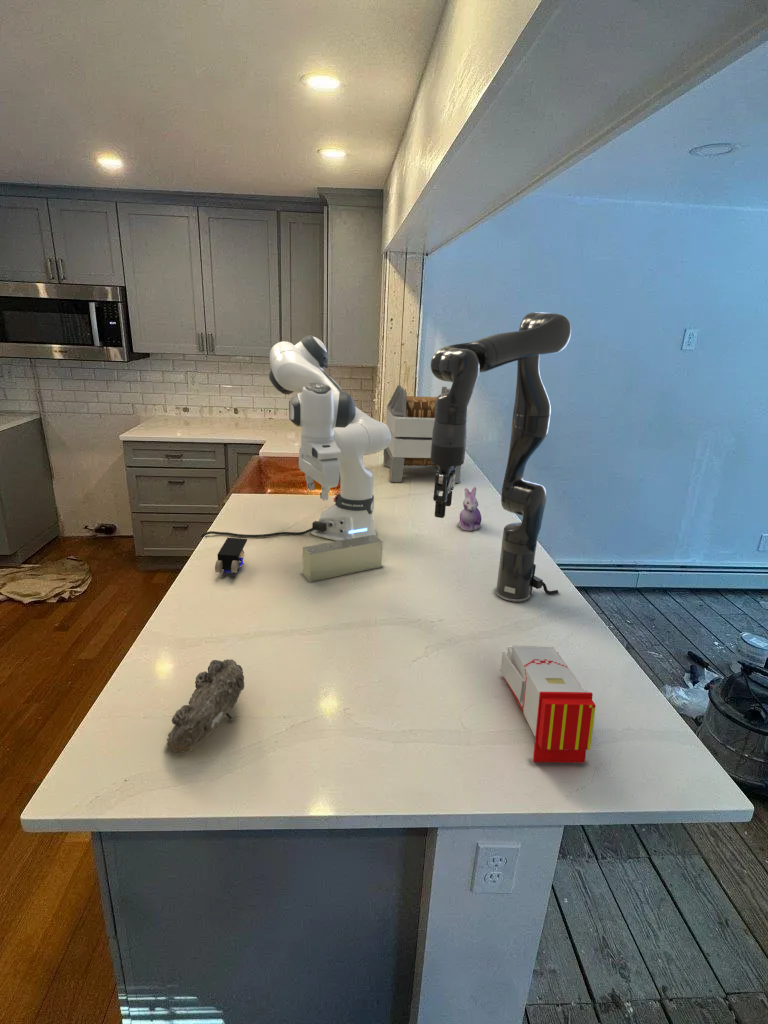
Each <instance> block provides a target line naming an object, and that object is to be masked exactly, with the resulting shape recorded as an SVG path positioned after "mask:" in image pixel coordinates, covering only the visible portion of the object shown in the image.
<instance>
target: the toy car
mask: <svg viewBox="0 0 768 1024" xmlns="http://www.w3.org/2000/svg"><path fill="white" fill-rule="evenodd" d="M247 542H248V538H242V537H226V539H225V541H224V543H223V544H222V546H221V547H220V549H219V551H218V552H217V560H216V562H215V564H214V572H215V573H221V577H222V578H224V577H225V576H226V574H227V573H230V574H231V573H232V574H231V578H234V577H235V575H236V573H237V572H239V571H240V567H242V566H243V565H244V564H245V562H244V558H245V551H244V547H245V546H246V544H247Z"/></svg>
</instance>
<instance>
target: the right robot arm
mask: <svg viewBox="0 0 768 1024" xmlns="http://www.w3.org/2000/svg"><path fill="white" fill-rule="evenodd" d="M571 335H572V326H571V322H570V319H569V318H567V316H565V315H563V314H561V313H556V312H538V311H537V312H535V311H534V312H529V313H527V314H525V315H524V317H523V318H522V320H521V322H520V325H519V328H518V330H516V331H510V332H500V333H496V334H492V335H490V336H485V337H482V338H480V339H477V340H475V341H471V342H461V343H455V344H450V345H446V346H443V347H441V348H439V349H438V350H437V351H436V352H435V353H434V354H433V356H432V358H431V360H430V370H431V373H432V375H433V376H434V377H435V378H436V379H437V380H440V381H442V382H449V383H452V384H451V387H450V388H449V389H450V392H449V393H443V394H441V393H440V394H438V396H436V397H437V399H436V407H435V421H434V426H433V432H432V445H431V462H432V463H434V464H437V465H439V466H440V468H439V469H437V471H436V472H435V475H434V486H433V487H434V489H433V497H432V499H433V501H435V505H434V517H435V518H440V519H444V518H445V517H446V507H451V505H452V500H453V491H454V489H455V485H456V484H457V483H456V482H455V481H456V480H455V477H456V466H460V465H461V466H463V465H464V463H465V460H466V459H465V457H466V447H467V436H468V429H467V426H468V425H467V423H468V414H469V413H468V412H469V403H470V401H471V398H472V396H473V394H474V390H475V387H476V384H477V382H478V378H479V376H480V373H486V372H489V371H492V370H494V369H497V368H499V367H502V366H505V365H508V364H510V363H513V362H516V361H517V368H516V369H517V370H516V371H517V372H516V383H515V385H516V386H515V396H514V404H513V411H512V419H511V429H510V430H511V431H510V442H509V448H508V449H509V450H508V457H507V462H506V468H505V473H504V478H503V481H502V487H501V493H500V505H501V506H502V509H503V510H505V511H507V512H509V513H513V514H516V515H518V516H522V519H521V522H512V523H508V524H506V525H505V526H504V528H503V531H502V539H501V547H500V555H499V556H500V557H499V565H498V572H497V578H496V579H497V580H496V587H495V594H496V596H498V597H499V598H500V599H502V600H505V601H509V602H513V603H521V602H526V601H527V600H529V599H530V596H532V594H533V588H534V589H535V590H538V589H542V588H543V591H544V593H545V594H547V595H555V594H559V590H558V589H553V590H548V587H547V584H546V583H545V582H544V581H543V579H541V578H540V577H538V576H536V575H535V574H536V567H537V565H536V564H535V559H536V550H537V544H538V538H539V535H540V531H541V529H542V522H543V517H544V513H545V508H546V503H547V490H546V488H545V486H543V485H542V484H539V483H537V482H533V481H532V482H531V481H528V480H524V476H525V475H524V473H525V469H526V466H527V463H528V461H529V459H530V458H531V457H532V455H533V454H535V452H536V451H537V450H538V448H540V446H541V445H542V443H543V442H544V441H545V439H546V438H547V435H548V433H549V428H550V421H551V413H552V407H551V402H550V398H549V396H548V393H547V390H546V388H545V386H544V383H543V381H542V378H541V373H540V372H541V371H540V356H541V355H547V354H557V353H560V352H562V351H563V350H564V349H565V348H566V347H567V345H568V344H569V342H570V339H571ZM440 493H441V494H442V495H440Z"/></svg>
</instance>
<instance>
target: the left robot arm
mask: <svg viewBox="0 0 768 1024" xmlns="http://www.w3.org/2000/svg"><path fill="white" fill-rule="evenodd" d="M328 363H329V352H328V349H327V347H326V345H325V344H324V342H323V341H322V340H321V339H319V338H318V337H316V336H314V335H311V334H308V335H305V336H304V337H302V338H301V339H300V341H299V342H297V343H296V344H295V345H294V344H293V343H292V342H290V341H285V340H284V341H279V342H277V343H275V344H274V345H273V346H272V347H271V348H270V351H269V364H270V371H269V374H268V379H269V381H270V383H271V385H272V386H273V388H274V389H275V390H276V391H278V392H280V393H281V394H283V395H290V394H292V393H294V392H297V393H295V394H294V395H292V397H291V398H290V400H289V401H288V414H289V415H288V418H289V421H290V422H291V423H292V424H293V425H295V426H296V427H299V428H301V432H300V447H299V450H298V469H299V471H301V473H304V478H305V481H306V489H307V490H309V491H314V490H315V489H316V488H315V486H316V483H318V484H319V485H320V486H321V487H320V488H321V492H319V498H320V500H322V501H327V500H329V494H330V491H331V489H332V488H337V487H338V485H340V488H339V489H340V490H339V491H338V492H337V494H336V495H335V496H334V497H333V502H334V504H333V505H331V506H329V507H328V508H326V509H325V510H323V512H321V514H320V515H319V517H318V520H314V521H313V522H311V523H312V526H311V528H309V529H307V530H304V531H297V532H296V531H278V532H271V533H266V534H265V533H264V534H245V533H244V534H243V533H236V532H235V533H233V532H227V531H226V532H225V531H213V530H209V531H206V532H204V533H203V534H202V535H200V538H204V537H206V536H207V535H220V536H221V535H223V536H233V537H237V538H267V537H273V536H274V537H275V536H280V535H289V536H290V535H291V536H292V535H293V536H301V535H305V534H308V533H311V536H315V537H319V538H323V539H326V540H330V541H334V542H336V541H341V540H347V539H353V538H359V537H365V536H370V535H375V536H376V535H377V532H376V528H375V523H374V513H373V512H374V509H375V496H374V474H373V472H372V471H371V469H369V468H368V467H366V466H365V465H364V462H363V457H364V456H370V455H374V454H377V453H381V452H382V451H384V449H386V448H387V447H388V446H389V445H390V442H391V432H390V430H389V428H388V426H387V423H386V422H385V423H384V422H383V421H379V420H377V419H375V418H373V417H371V416H370V415H368V414H367V413H365V412H364V411H362V410H361V409H360V408H358V407H357V406H356V404H355V401H354V398H353V397H352V396H351V395H350V394H349V392H347V391H345V390H343V389H342V388H341V387H340V384H338V383H337V382H336V381H335V379H333V378H332V377H331V376H330V375H329V374H328V373H327V372H325V370H324V368H325V369H328V368H329V365H328ZM315 482H316V483H315ZM339 482H340V484H339Z"/></svg>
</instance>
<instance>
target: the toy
mask: <svg viewBox="0 0 768 1024" xmlns="http://www.w3.org/2000/svg"><path fill="white" fill-rule="evenodd" d="M506 650H507V651H502V652H501V659H500V666H499V671H500V673H501V675H502V677H503V679H504V681H505V683H506V684H507V687H508V688H509V690H510V692H511V693H512V696H513V697H514V699H515V700H516V703H517V704H518V706H519V708H520V709H521V711H522V712H523V716H524V717H525V719H526V722H527V723H528V726H529V728H530V730H531V731H532V734H533V736H534V744H533V745H534V746H533V757H532V762H533V763H568V764H569V763H575V764H576V763H577V764H578V763H579V764H582V763H583V764H585V762H586V754H587V751H591V747H592V746H591V745H592V738H593V729H594V722H595V713H596V707H597V706H596V703H595V702H594V700H593V696H594V695H593V692H590V691H589V692H587V691H586V690H585V688H584V687H583V686H582V684H581V683H580V681H579V680H578V679H577V677H576V676H575V675H574V673H573V672H572V671H571V669H570V668H569V667H568V665H567V664H566V662H565V661H564V659H563V658H562V656H561V655H560V653H559V651H557V649H556V648H555V647H554V646H545V645H544V646H543V645H542V646H540V645H535V646H534V645H512V646H507V649H506Z"/></svg>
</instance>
